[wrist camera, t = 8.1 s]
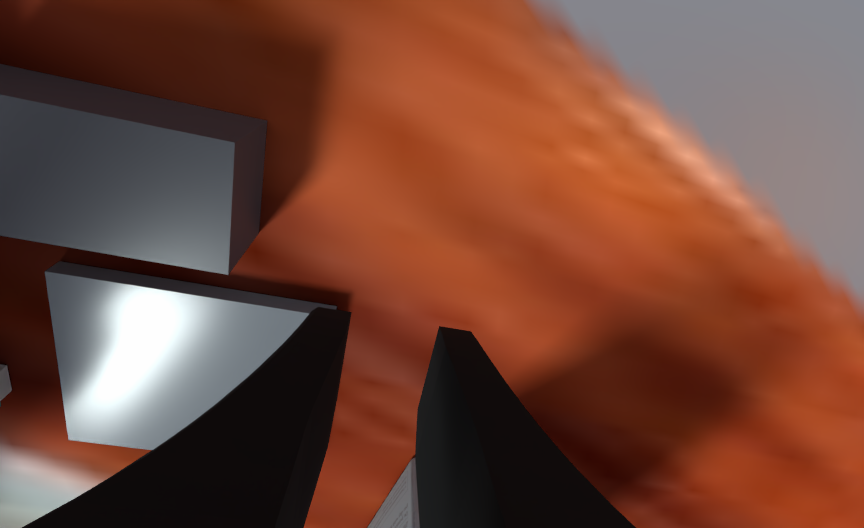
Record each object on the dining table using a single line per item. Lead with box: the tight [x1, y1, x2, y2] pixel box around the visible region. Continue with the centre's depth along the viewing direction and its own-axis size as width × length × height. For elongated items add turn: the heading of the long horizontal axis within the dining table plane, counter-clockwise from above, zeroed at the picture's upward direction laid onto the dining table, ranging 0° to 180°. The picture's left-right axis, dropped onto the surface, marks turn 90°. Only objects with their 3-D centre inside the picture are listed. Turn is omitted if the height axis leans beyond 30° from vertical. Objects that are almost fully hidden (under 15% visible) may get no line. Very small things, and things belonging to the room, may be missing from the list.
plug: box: [0, 64, 267, 275], centre depth 15 cm, size 4×8×4 cm, turn 77°
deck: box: [45, 261, 337, 450], centre depth 20 cm, size 8×10×1 cm
